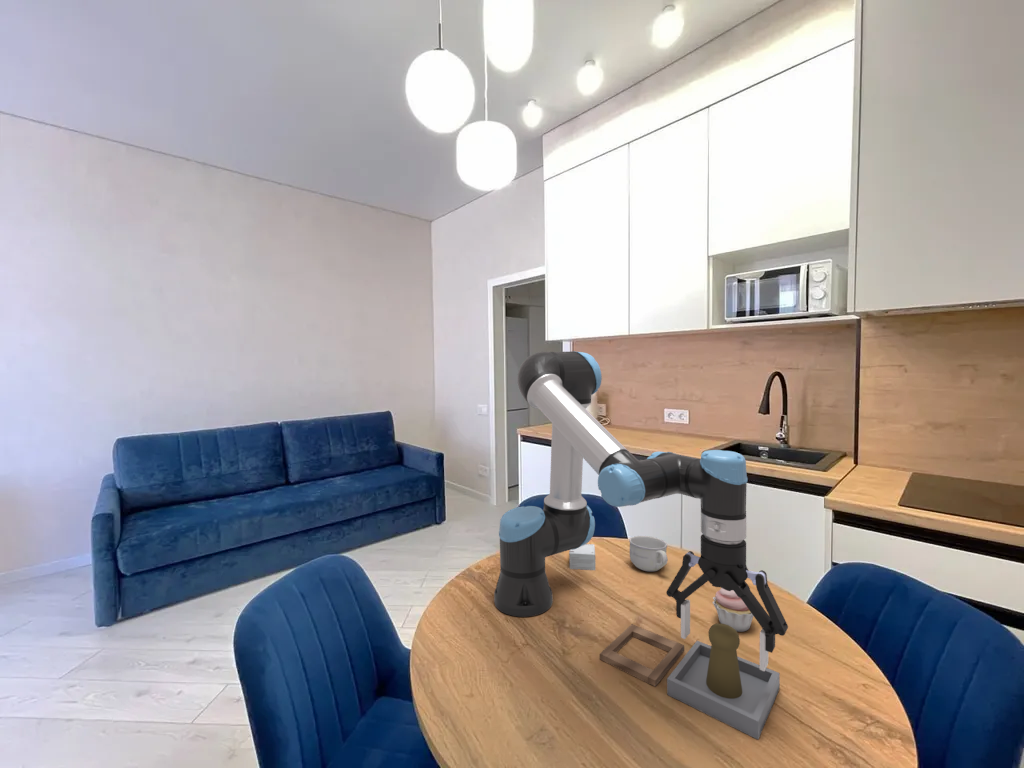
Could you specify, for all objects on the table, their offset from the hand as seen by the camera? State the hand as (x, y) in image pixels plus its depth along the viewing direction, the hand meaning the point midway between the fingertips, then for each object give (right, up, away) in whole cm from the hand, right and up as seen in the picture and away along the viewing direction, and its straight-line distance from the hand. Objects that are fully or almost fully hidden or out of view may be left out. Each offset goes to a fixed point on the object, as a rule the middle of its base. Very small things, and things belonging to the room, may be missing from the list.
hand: (722, 650), depth 81 cm
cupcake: (+13, -7, +21) cm, 26 cm away
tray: (0, -8, 0) cm, 8 cm away
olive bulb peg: (0, -7, 0) cm, 7 cm away
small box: (-17, -7, +54) cm, 57 cm away
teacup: (+2, -6, +50) cm, 50 cm away
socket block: (-12, -8, +11) cm, 18 cm away
